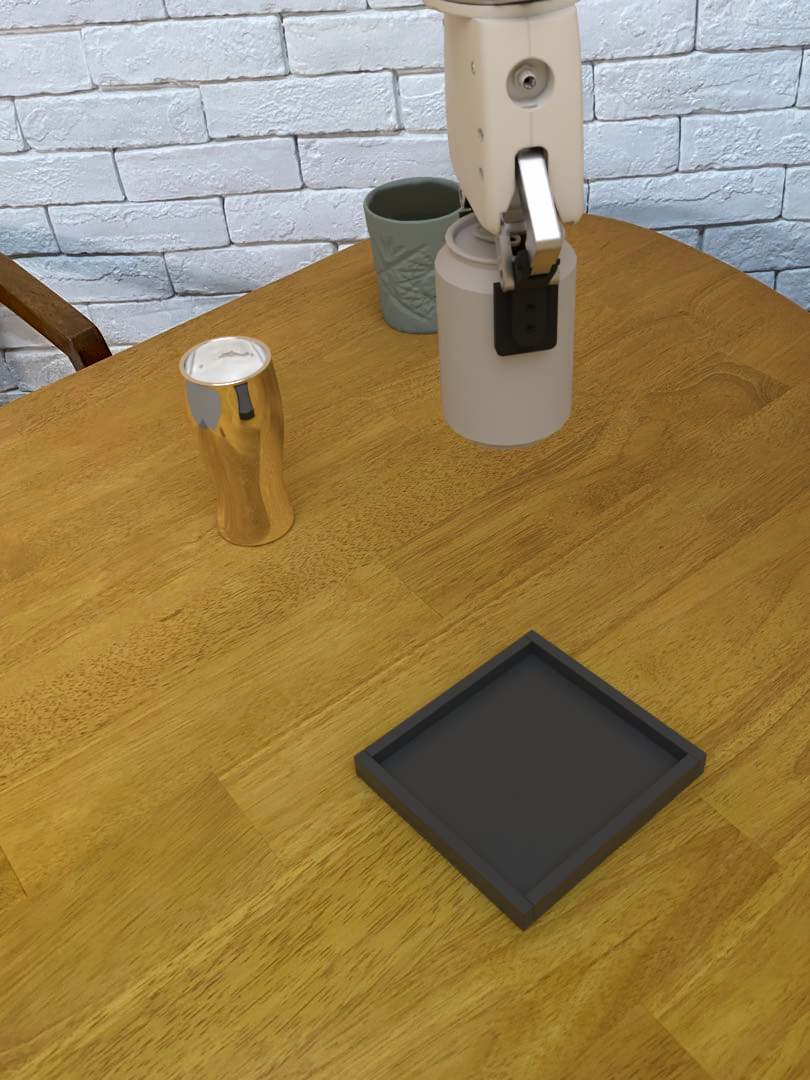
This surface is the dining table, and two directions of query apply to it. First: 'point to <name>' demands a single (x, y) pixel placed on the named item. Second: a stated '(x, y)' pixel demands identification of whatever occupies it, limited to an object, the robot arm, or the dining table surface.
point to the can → (470, 357)
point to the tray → (529, 774)
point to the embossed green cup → (410, 246)
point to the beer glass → (239, 435)
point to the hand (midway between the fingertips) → (506, 309)
